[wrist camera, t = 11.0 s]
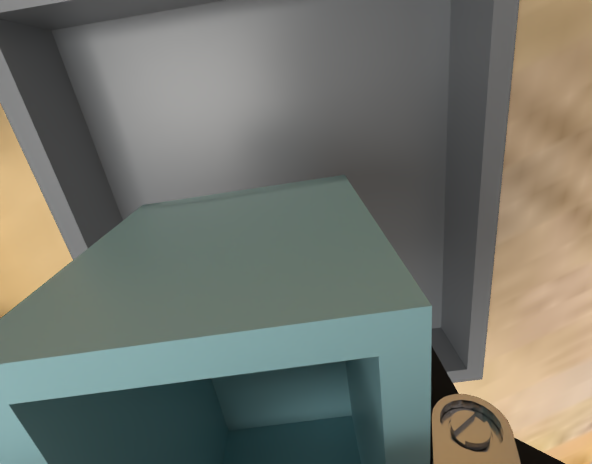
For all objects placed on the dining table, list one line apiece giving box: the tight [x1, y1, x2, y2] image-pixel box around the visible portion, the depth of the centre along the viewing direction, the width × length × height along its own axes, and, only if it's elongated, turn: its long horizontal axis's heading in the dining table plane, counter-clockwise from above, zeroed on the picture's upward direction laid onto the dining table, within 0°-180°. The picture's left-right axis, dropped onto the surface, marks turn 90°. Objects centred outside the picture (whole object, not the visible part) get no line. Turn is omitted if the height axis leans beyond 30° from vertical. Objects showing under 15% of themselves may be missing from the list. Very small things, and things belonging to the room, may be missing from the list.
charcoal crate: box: [0, 0, 519, 383], centre depth 20 cm, size 22×24×5 cm
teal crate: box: [0, 175, 432, 464], centre depth 8 cm, size 6×9×6 cm, turn 8°
